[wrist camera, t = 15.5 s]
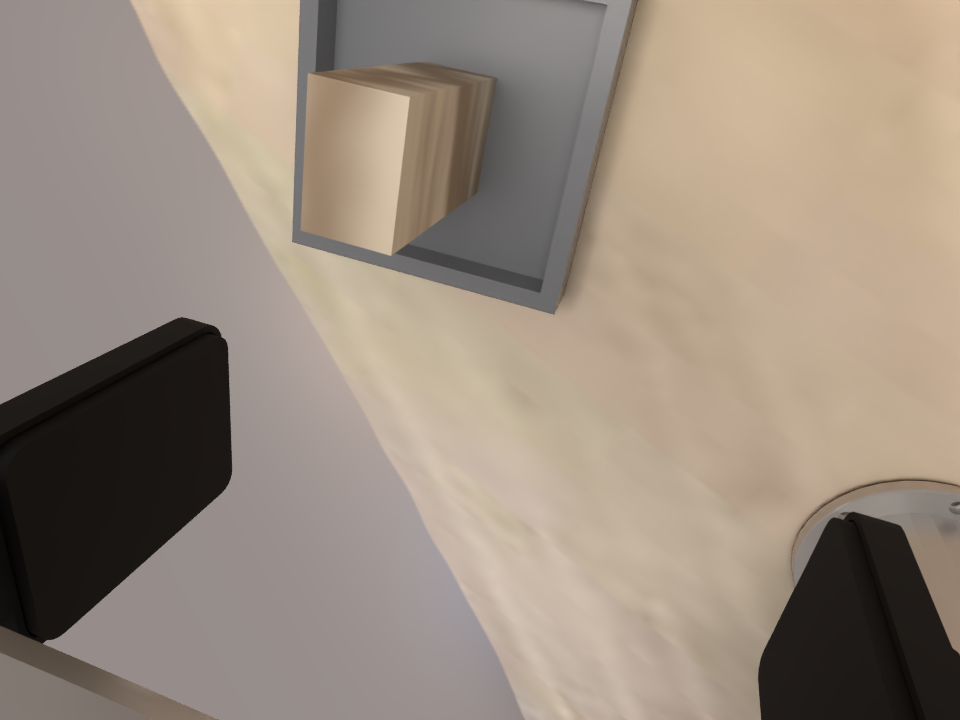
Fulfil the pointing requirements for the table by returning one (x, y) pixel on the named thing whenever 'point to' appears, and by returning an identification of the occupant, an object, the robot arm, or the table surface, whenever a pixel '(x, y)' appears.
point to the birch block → (391, 150)
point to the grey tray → (489, 127)
